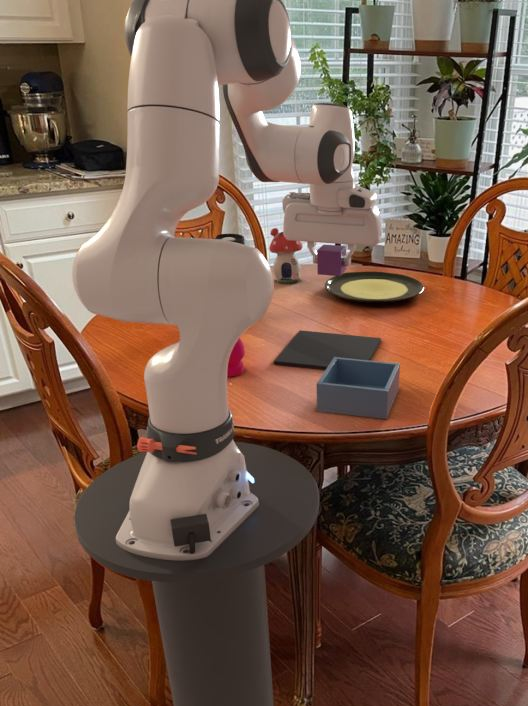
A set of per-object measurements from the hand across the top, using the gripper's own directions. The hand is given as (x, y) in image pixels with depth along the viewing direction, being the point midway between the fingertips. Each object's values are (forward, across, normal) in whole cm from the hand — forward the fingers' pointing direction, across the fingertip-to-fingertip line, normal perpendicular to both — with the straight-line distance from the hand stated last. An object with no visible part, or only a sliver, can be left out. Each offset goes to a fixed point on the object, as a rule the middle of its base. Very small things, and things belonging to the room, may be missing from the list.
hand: (332, 264), depth 149 cm
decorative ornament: (+21, -27, +53) cm, 63 cm away
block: (+2, 0, 0) cm, 2 cm away
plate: (+21, 0, +48) cm, 52 cm away
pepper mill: (+21, -19, -14) cm, 31 cm away
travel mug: (+21, -30, +18) cm, 41 cm away
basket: (+20, +11, -21) cm, 31 cm away
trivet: (+20, -1, +2) cm, 21 cm away
